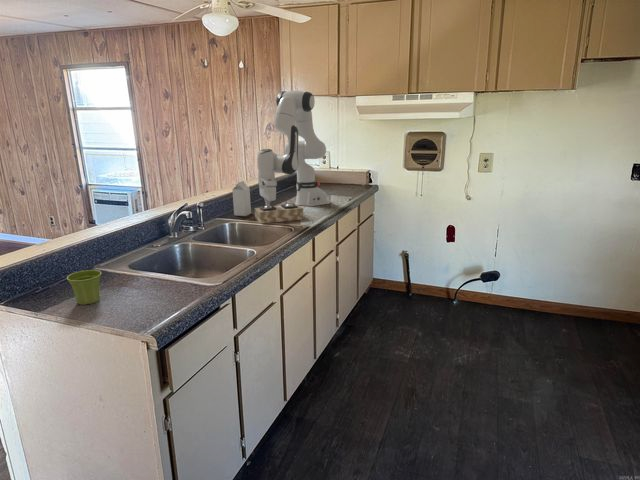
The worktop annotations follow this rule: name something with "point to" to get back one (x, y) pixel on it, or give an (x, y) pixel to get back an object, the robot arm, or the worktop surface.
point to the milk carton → (241, 199)
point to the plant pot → (85, 286)
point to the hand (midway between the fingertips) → (267, 206)
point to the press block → (278, 213)
